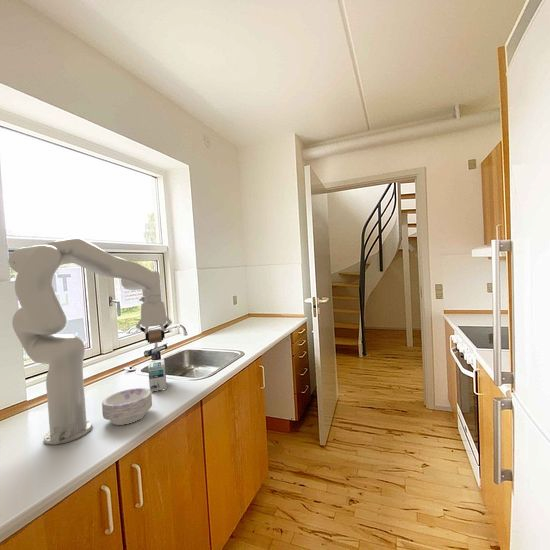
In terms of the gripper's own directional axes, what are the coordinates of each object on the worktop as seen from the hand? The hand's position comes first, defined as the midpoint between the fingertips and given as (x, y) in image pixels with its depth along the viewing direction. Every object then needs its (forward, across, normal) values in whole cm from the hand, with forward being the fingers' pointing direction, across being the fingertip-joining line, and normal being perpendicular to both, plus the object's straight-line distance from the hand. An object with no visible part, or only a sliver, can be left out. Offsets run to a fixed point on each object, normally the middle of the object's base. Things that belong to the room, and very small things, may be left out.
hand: (155, 340), depth 127 cm
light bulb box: (+21, 0, 0) cm, 21 cm away
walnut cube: (+1, 0, 0) cm, 1 cm away
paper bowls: (+21, -10, -25) cm, 34 cm away
